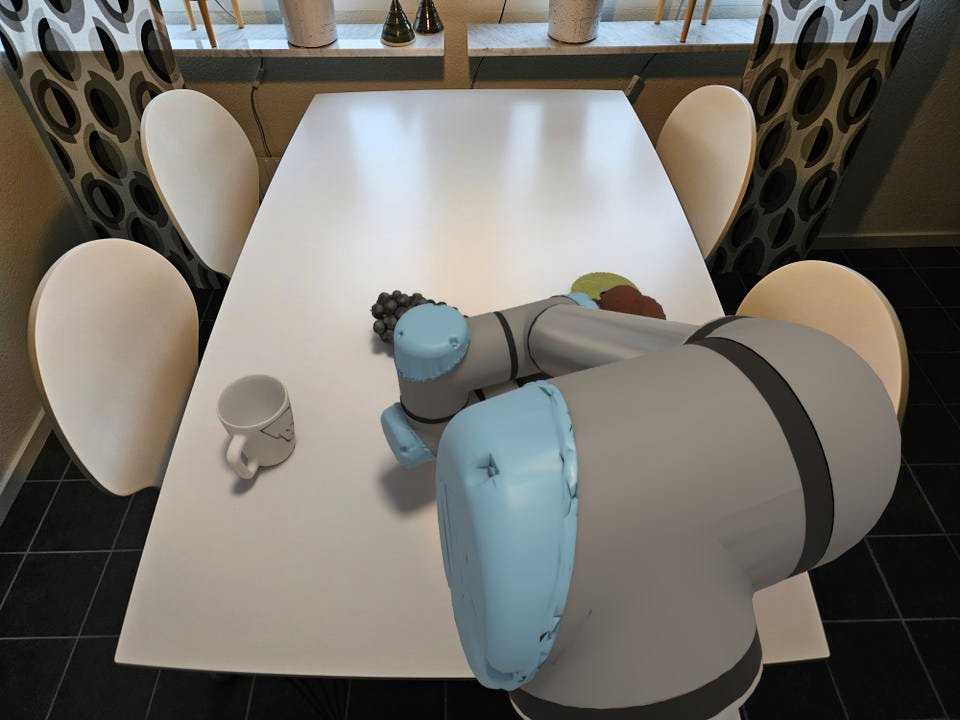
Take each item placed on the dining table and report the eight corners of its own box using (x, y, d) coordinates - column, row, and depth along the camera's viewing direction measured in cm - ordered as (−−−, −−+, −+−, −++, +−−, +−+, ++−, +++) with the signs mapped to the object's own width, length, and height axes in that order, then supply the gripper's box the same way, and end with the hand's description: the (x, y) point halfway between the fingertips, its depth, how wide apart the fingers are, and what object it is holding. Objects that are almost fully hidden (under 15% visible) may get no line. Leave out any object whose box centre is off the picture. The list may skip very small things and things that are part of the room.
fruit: (470, 278, 94) (366, 280, 93) (473, 329, 91) (365, 332, 90) (468, 307, 102) (373, 309, 101) (471, 355, 99) (372, 357, 98)
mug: (278, 500, 80) (258, 454, 72) (215, 488, 81) (189, 442, 74) (313, 427, 87) (298, 378, 80) (255, 417, 88) (234, 368, 81)
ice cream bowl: (583, 409, 86) (599, 328, 74) (572, 348, 93) (585, 267, 82) (663, 407, 86) (690, 326, 75) (645, 346, 93) (668, 265, 82)
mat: (573, 328, 100) (574, 319, 99) (565, 280, 108) (566, 271, 107) (645, 327, 101) (647, 318, 99) (632, 280, 108) (634, 271, 107)
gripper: (461, 349, 87) (591, 295, 95) (561, 479, 73) (705, 403, 81) (459, 308, 81) (598, 254, 89) (568, 441, 68) (722, 363, 75)
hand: (649, 325), depth 85 cm, fingers closed on ice cream bowl, 11 cm apart
